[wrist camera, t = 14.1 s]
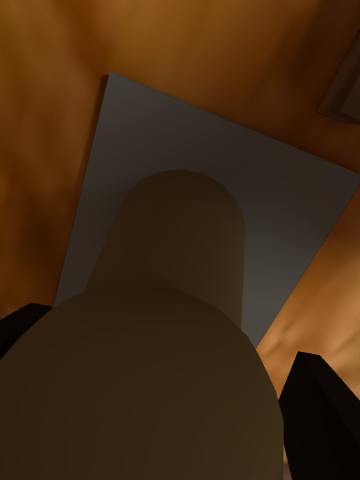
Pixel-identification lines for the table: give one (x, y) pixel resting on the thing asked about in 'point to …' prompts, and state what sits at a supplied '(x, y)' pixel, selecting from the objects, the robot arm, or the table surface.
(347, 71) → the rail
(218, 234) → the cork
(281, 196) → the mat
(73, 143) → the table surface
